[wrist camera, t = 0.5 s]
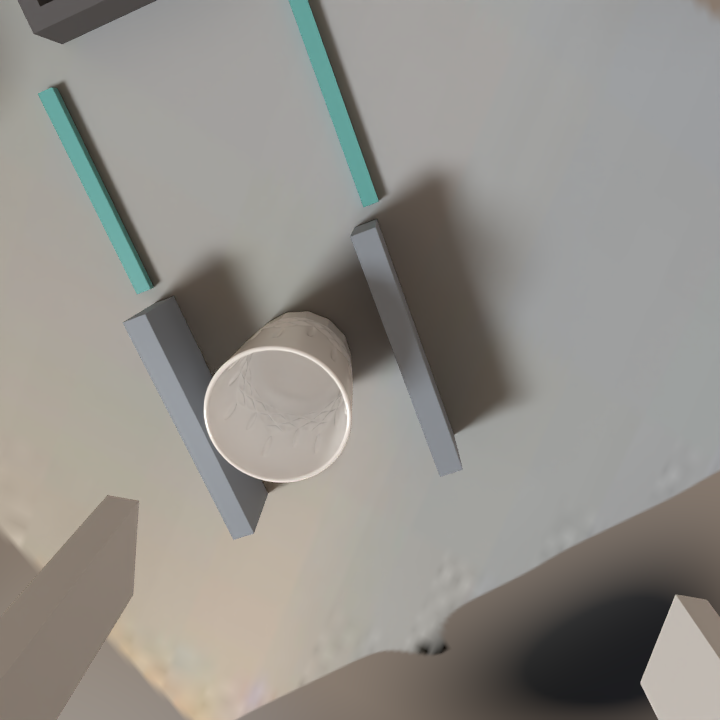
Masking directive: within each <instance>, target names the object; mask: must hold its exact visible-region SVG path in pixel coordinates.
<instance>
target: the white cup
mask: <svg viewBox="0 0 720 720" xmlns="http://www.w3.org/2000/svg"><path fill="white" fill-rule="evenodd" d="M351 358H352V357H351V353H350V350H349V347H348V344H347V341H346V338H345V335H344V334H343V333H342V332H341V331H340V330H339V329H338V328H337V327H336V326H335V325H334V324H333V323H332V322H331V321H330V320H329V319H327V318H324V317H322V316H319V315H317V314H314V313H311V312H309V311H306V312H289V313H285V314H283V315H281V316H279V317H277V318H276V319H274V320H272V321H270V322H269V323H267V324H266V325H265V326H264V327H263V328H261V329H260V330H259V331H258V332H256V333H255V334H254V335H253V336H252V337H251V338H250V339H248V340H247V341H246V342H245V343H244V344H243V345H242V346H241V347H240V348H239V349H238V350H237V351H236V352H235V353H234V354H233V355H232V356H231V357H230V358H229V359H228V360H227V361H226V362H225V363H224V364H223V365H222V366H221V367H220V368H219V369H218V371H217V372H216V373H215V375H214V376H213V378H212V380H211V381H210V383H209V386H208V388H207V391H206V395H205V399H204V420H205V425H206V429H207V432H208V434H209V437H210V439H211V441H212V443H213V444H214V446H215V448H216V449H217V450H218V452H219V453H220V454H221V455H222V456H223V457H224V459H225V460H227V461H228V462H229V463H230V464H231V465H232V466H234V467H235V468H237V469H238V470H240V471H241V472H243V473H245V474H247V475H249V476H252V477H254V478H257V479H261V480H264V481H270V482H295V481H300V480H304V479H307V478H310V477H312V476H314V475H316V474H318V473H320V472H322V471H323V470H325V469H326V468H327V467H329V466H330V465H331V464H332V463H333V462H334V461H335V460H336V459H337V458H338V457H339V455H340V454H341V452H342V451H343V449H344V447H345V445H346V443H347V441H348V438H349V435H350V431H351V424H352V398H353V380H352V365H351Z"/></svg>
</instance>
